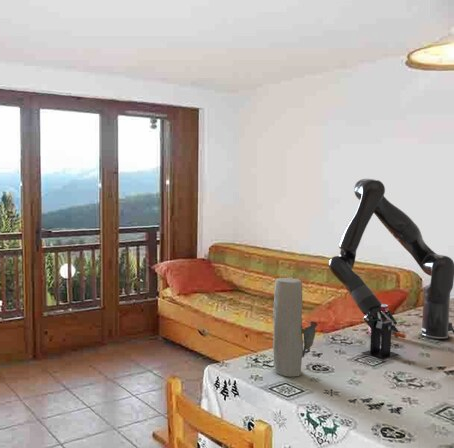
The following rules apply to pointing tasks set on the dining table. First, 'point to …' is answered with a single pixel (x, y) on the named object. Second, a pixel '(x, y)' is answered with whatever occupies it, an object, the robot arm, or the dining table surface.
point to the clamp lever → (379, 326)
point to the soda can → (384, 308)
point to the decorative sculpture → (289, 327)
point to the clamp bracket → (385, 341)
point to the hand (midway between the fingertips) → (393, 337)
